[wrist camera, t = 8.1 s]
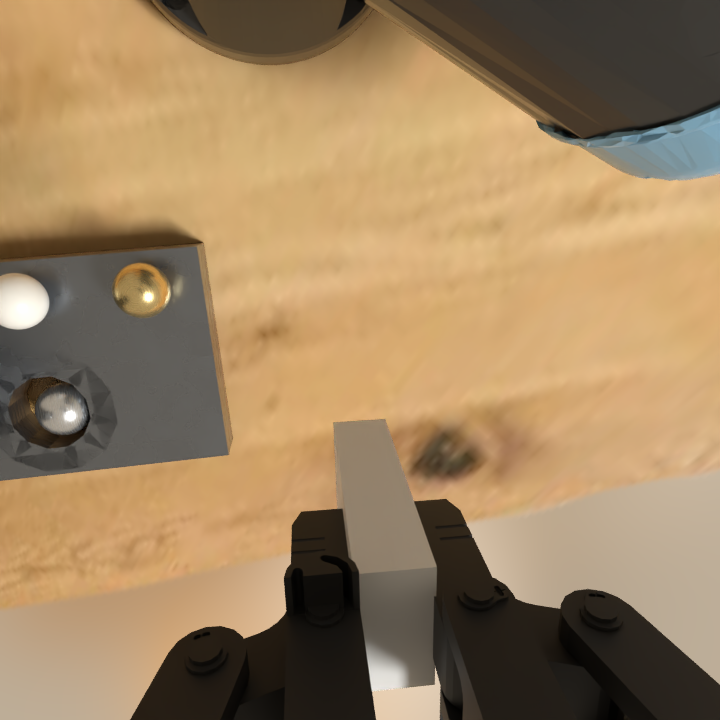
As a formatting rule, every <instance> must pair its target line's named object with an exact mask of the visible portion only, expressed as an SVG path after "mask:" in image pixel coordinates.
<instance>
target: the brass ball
mask: <svg viewBox="0 0 720 720" xmlns="http://www.w3.org/2000/svg"><path fill="white" fill-rule="evenodd" d="M112 295H113V298H114V301H115V303H116V304H117V306H118V307H119V308H120V309H121V310H122V311H123V312H125V313H126V314H128V315H130V316H133V317H136V318H150V317H153V316H155V315H157V314H159V313H160V312H162V311H163V310H164V309H165V308H166V306H167V305H168V303H169V300H170V297H171V287H170V283H169V280H168V278H167V277H166V275H165V274H164V273H163V272H162V271H161V270H160V269H158V268H157V267H155V266H153V265H150V264H147V263H133V264H130V265H127V266H126V267H124V268H122V269H121V270H120V271H119V272H118V273H117V275H116V276H115V278H114V280H113V284H112Z"/></svg>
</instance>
